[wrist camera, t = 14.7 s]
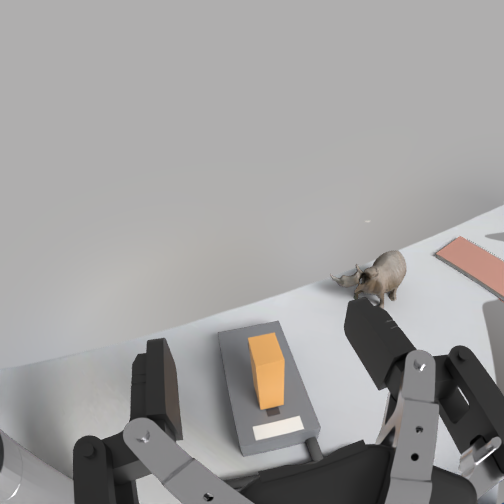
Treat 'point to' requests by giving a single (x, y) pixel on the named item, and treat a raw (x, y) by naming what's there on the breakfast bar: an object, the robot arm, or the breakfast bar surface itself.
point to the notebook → (475, 264)
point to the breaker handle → (267, 370)
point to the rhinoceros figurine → (378, 277)
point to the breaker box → (246, 403)
